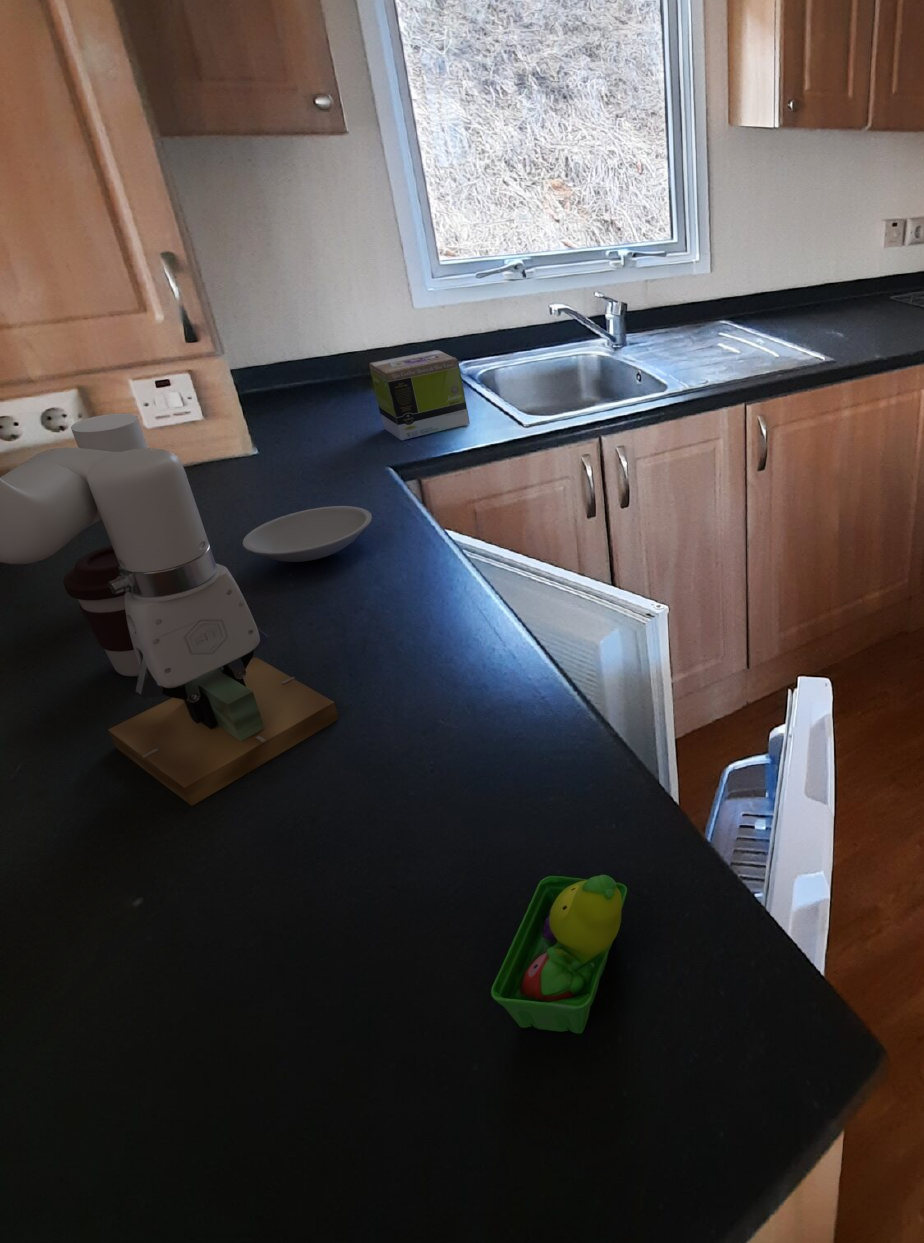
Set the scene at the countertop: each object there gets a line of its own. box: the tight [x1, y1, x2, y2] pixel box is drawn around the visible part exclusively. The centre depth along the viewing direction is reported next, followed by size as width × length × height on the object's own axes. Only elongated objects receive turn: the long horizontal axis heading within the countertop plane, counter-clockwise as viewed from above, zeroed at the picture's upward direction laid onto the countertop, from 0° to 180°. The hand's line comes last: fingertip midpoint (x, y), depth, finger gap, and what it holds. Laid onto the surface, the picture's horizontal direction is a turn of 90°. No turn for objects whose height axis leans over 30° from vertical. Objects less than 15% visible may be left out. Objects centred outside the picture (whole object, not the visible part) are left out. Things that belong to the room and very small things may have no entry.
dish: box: [242, 505, 373, 563], centre depth 131 cm, size 18×14×5 cm
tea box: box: [368, 349, 471, 441], centre depth 180 cm, size 15×10×15 cm, turn 133°
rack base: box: [107, 656, 340, 807], centre depth 96 cm, size 16×16×3 cm
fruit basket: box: [490, 874, 628, 1035], centre depth 68 cm, size 11×9×11 cm
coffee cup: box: [62, 545, 140, 677], centre depth 105 cm, size 10×10×15 cm
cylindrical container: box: [70, 412, 149, 452], centre depth 118 cm, size 7×7×25 cm
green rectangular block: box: [182, 668, 265, 741], centre depth 94 cm, size 12×3×5 cm, turn 57°
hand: (223, 713), depth 95 cm, fingers closed on green rectangular block, 2 cm apart
